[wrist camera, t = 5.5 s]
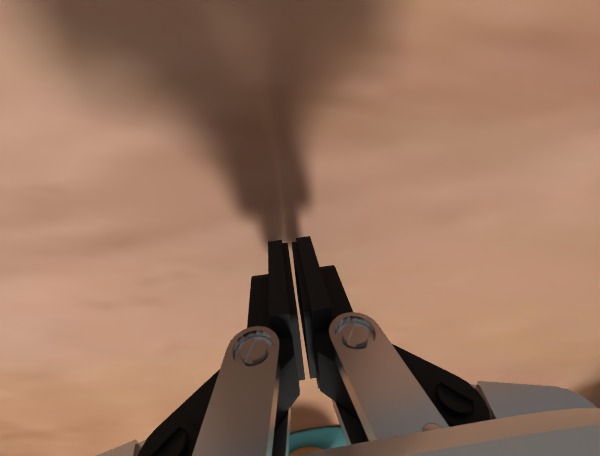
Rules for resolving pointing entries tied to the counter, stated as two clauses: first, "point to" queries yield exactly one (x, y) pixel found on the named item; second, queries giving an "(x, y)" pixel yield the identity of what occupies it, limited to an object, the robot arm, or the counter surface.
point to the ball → (305, 450)
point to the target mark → (317, 438)
